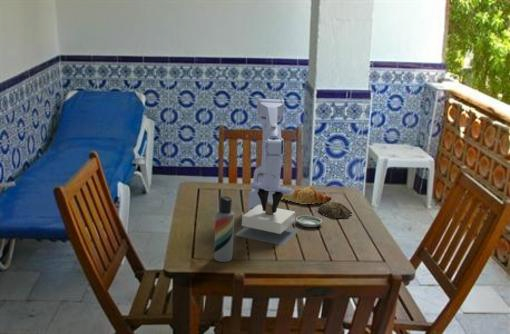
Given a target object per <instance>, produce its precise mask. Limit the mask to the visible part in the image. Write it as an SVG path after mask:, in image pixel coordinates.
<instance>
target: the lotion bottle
mask: <svg viewBox="0 0 510 334" xmlns="http://www.w3.org/2000/svg"><path fill="white" fill-rule="evenodd" d="M232 201H233V199H232V198H231V197H230V196H227V195H225V196H223V195H221V196H220V197H219V199H218V210H217V211H216V212H215V215H214V216H215V219H214V221H215V222H214V223H215V224H214V245H213V246H214V247H213V248H214V249H213V250H214V251H213V258H214V260H215V261H217V262H220V263H226V262H231V261H232V259H233V248H234V229H235V212H234V211H232V206H233V203H232Z"/></svg>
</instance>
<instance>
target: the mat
mask: <svg viewBox="0 0 510 334" xmlns="http://www.w3.org/2000/svg"><path fill="white" fill-rule="evenodd" d="M300 231H301V229H300V228H296V227H290V226H289V227H288V228H286V229H285V230H284V231H283V232H282V233H281V234H278V233H274V232H269V231H264V230H260V229H255V228H250V227H246V226H244V227H243V228H242V229H240V230H239V231H238V232H237V233H234V236H236V237H237V236H238V237H243V238H247V239H251V240H256V241H260V242H264V243H269V244H273V245H278V246H283V247H284V246H285V245H286V244H287V243H288V242H289V241H290V240H291V239H292V238H294V236H295V235H296V234H297V233H299V232H300Z"/></svg>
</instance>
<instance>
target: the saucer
mask: <svg viewBox="0 0 510 334" xmlns="http://www.w3.org/2000/svg"><path fill="white" fill-rule="evenodd" d="M295 221H296V222H297V223H298V224H299V225H300V226H302V227H306V228H315V227H319V226H320V225H322V223H323V219H322V218H320V217H318V216H316V215H308V214H307V215H306V214H305V215H304V214H303V215H299V216H296V217H295Z"/></svg>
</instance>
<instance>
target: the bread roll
mask: <svg viewBox="0 0 510 334" xmlns="http://www.w3.org/2000/svg"><path fill="white" fill-rule="evenodd" d="M318 210H319V211H318ZM317 211H318V212H319V213H320V212H321V213H322V214H321V213H320V214H321V215H323V214H324V215H327V216H326V217H328V216H329V217H328V218H330V217H332V218H331V219H334V218H337V219H345V218H348V217H350V218H351V216H350V214H352V215H353V212H352V210H350V209H349V207H347V206H346V205H344V204H343V203H341V202H335V201H328V202H327V203H323V204H320V206H319V207H318V209H317ZM324 215H323V216H324ZM348 219H349V218H348Z"/></svg>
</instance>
